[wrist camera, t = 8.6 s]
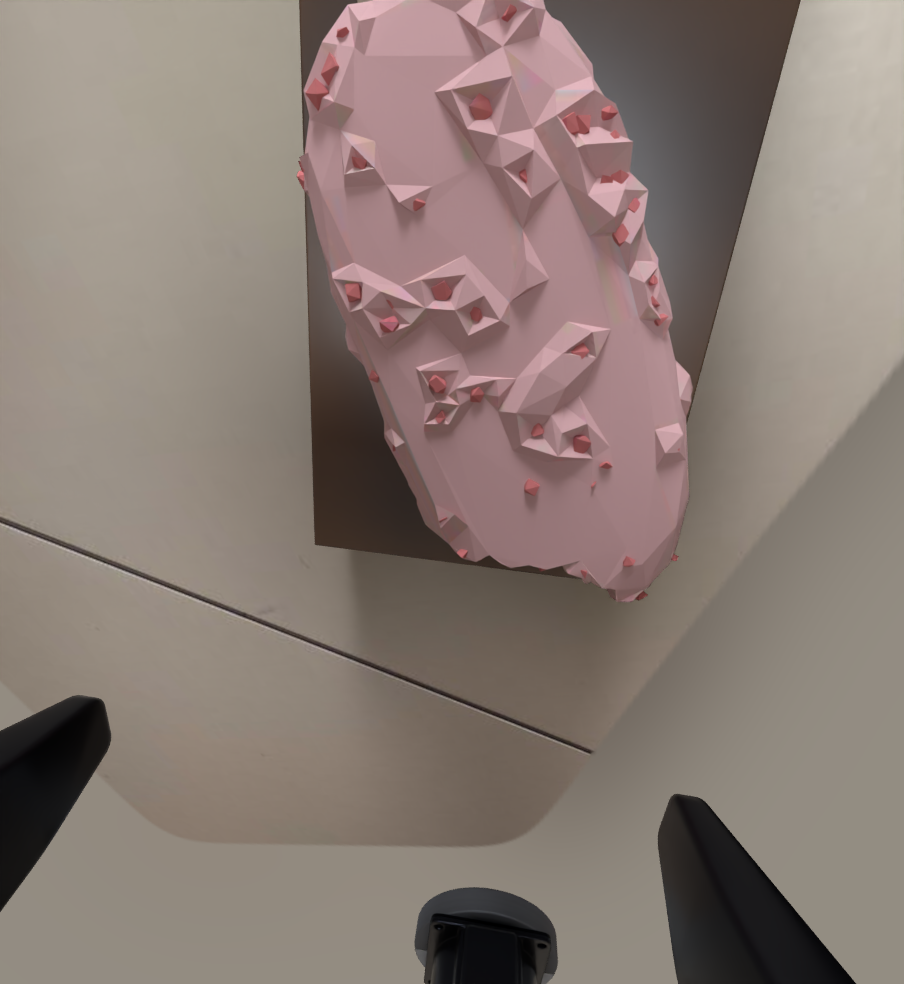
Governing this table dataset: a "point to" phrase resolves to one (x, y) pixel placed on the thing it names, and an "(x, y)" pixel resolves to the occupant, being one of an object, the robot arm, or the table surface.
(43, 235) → the table surface
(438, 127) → the ice cream bar
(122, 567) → the table surface
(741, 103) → the shelf
